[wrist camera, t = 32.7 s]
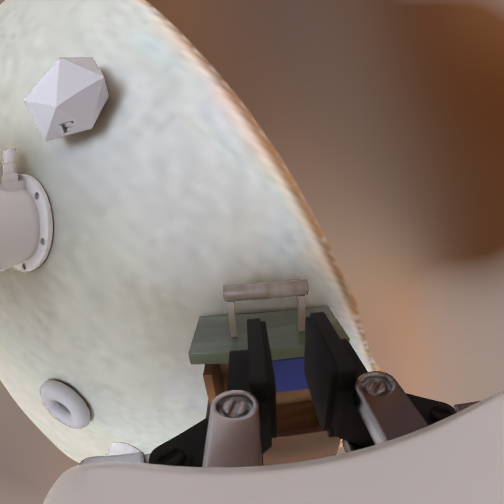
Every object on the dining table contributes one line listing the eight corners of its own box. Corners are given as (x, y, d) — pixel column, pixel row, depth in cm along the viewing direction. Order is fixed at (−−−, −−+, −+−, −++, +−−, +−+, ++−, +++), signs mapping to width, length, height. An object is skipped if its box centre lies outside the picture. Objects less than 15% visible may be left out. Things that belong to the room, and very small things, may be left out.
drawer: (192, 272, 27) (177, 300, 20) (329, 261, 27) (354, 285, 20) (216, 406, 31) (212, 446, 24) (320, 396, 31) (333, 434, 25)
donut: (104, 415, 33) (62, 370, 31) (97, 429, 30) (52, 383, 27) (73, 421, 34) (36, 382, 32) (67, 434, 31) (27, 393, 28)
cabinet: (209, 388, 32) (203, 440, 23) (325, 378, 32) (344, 426, 23) (224, 450, 35) (223, 493, 27) (316, 441, 35) (327, 483, 27)
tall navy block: (233, 378, 29) (233, 395, 26) (229, 347, 28) (228, 364, 25) (304, 371, 29) (309, 388, 26) (305, 340, 28) (311, 356, 25)
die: (49, 132, 24) (25, 164, 17) (41, 65, 18) (10, 75, 11) (112, 116, 27) (106, 141, 20) (109, 47, 21) (100, 46, 14)
